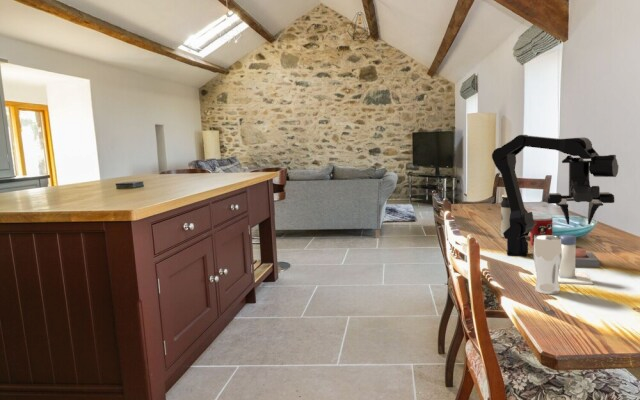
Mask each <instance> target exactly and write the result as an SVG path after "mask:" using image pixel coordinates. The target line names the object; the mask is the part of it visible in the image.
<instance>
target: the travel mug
mask: <svg viewBox="0 0 640 400" xmlns="http://www.w3.org/2000/svg"><path fill="white" fill-rule="evenodd" d="M501 197H502V200H501V202H500V220H501V221H500V224H501V227H500V228H501V230H500V233H501V237H502V238H504V239H505V237H504V234H503V233H504V232H505V231H506V230H507V229H508V228H509V227H510V223H509V218H510V213H511V210H510V206H509V202H508V198H507V194H502V195H501Z"/></svg>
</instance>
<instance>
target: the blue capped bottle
mask: <svg viewBox="0 0 640 400" xmlns="http://www.w3.org/2000/svg"><path fill="white" fill-rule="evenodd" d="M559 237H561V245H562V259H561V265H560V270H559V271H560V276H561V277H564V278H574V277H575V272H576V267H575V248H577V245H576V244H577V236H575V235H570V234H560V235H559Z"/></svg>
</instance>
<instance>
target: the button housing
mask: <svg viewBox="0 0 640 400" xmlns="http://www.w3.org/2000/svg"><path fill="white" fill-rule="evenodd" d="M575 268H597V269H599V268H600V259H599V258H598V257H597V256H596V255H595V254H594V253H593V252H590V251H586V258H576V257H575Z"/></svg>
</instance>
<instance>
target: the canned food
mask: <svg viewBox="0 0 640 400" xmlns="http://www.w3.org/2000/svg"><path fill="white" fill-rule="evenodd" d="M533 219H534V221H535V223H534V228H533V229H532V231H530V244H531V246H533V247H534V237H535V236H538V235H553V217H552V216H549V215H533Z"/></svg>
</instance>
